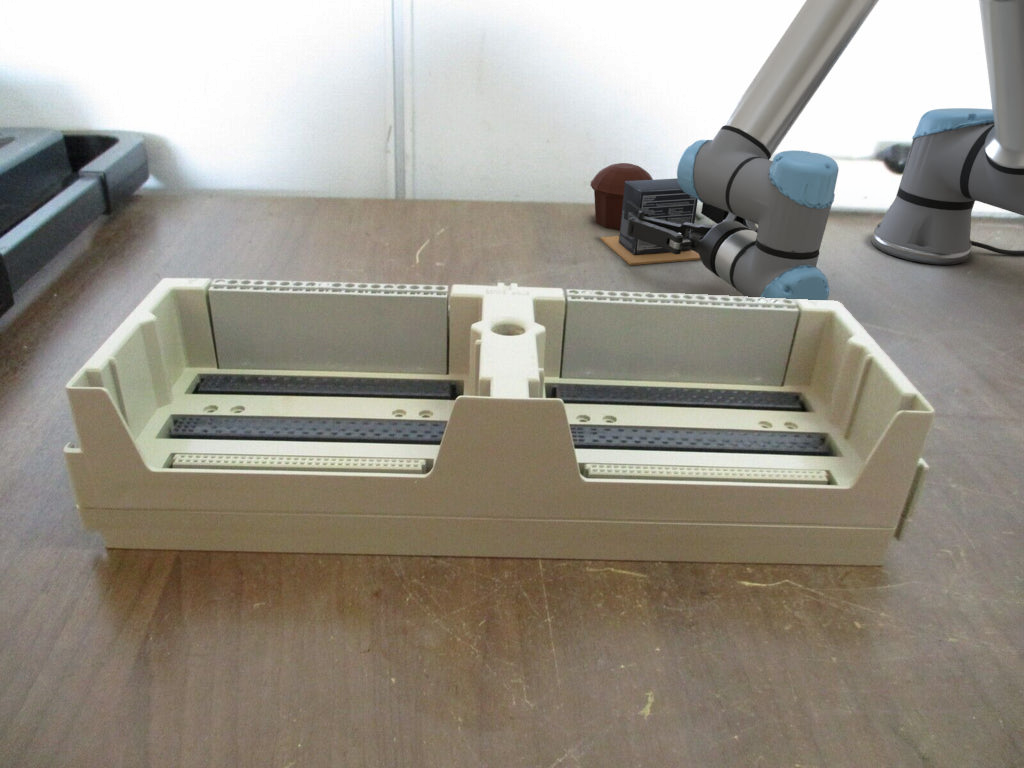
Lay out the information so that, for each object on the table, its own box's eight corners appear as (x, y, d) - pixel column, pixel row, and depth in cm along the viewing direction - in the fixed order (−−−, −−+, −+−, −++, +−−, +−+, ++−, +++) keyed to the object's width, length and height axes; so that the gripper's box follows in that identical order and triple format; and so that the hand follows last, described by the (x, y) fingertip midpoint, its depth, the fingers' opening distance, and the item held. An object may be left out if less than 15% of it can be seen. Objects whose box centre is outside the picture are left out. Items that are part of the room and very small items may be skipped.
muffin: (625, 208, 145) (631, 154, 139) (664, 226, 137) (672, 169, 131) (574, 216, 139) (578, 161, 134) (611, 235, 131) (618, 177, 126)
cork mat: (705, 231, 135) (705, 229, 135) (741, 256, 125) (742, 254, 125) (600, 239, 129) (600, 237, 129) (630, 265, 119) (630, 263, 119)
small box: (673, 237, 130) (682, 176, 125) (692, 251, 125) (702, 187, 120) (616, 241, 127) (623, 178, 122) (633, 255, 122) (641, 190, 117)
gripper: (650, 288, 102) (590, 234, 119) (809, 274, 109) (731, 225, 126) (658, 234, 98) (595, 187, 116) (822, 223, 105) (739, 180, 122)
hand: (666, 207), depth 121 cm, fingers open, 13 cm apart
